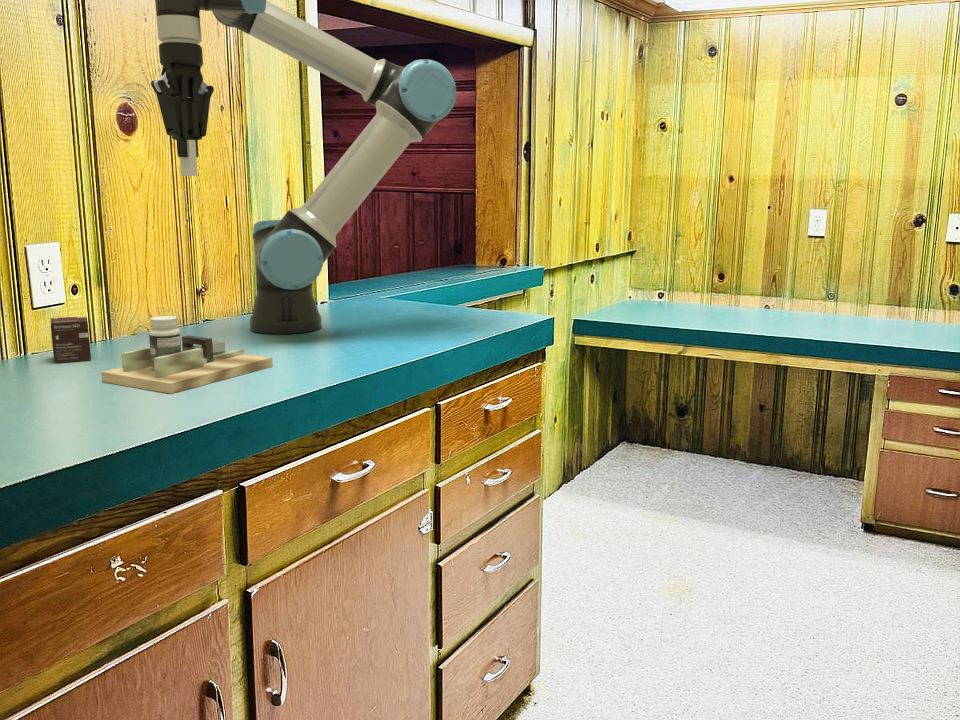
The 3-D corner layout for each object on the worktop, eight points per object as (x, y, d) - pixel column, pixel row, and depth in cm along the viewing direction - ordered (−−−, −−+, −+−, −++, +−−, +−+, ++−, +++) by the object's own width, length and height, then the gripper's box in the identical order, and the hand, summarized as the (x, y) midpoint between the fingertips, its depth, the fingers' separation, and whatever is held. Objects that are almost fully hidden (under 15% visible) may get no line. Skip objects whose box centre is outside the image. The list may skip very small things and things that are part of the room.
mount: (206, 357, 156) (204, 326, 155) (272, 366, 148) (271, 334, 147) (102, 381, 137) (98, 347, 136) (171, 393, 130) (168, 357, 128)
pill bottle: (151, 366, 141) (147, 316, 139) (182, 364, 143) (178, 314, 141) (151, 372, 137) (147, 320, 135) (182, 370, 138) (179, 319, 136)
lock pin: (215, 354, 150) (214, 341, 150) (225, 355, 149) (224, 342, 149) (184, 361, 144) (183, 347, 144) (194, 363, 143) (193, 349, 143)
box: (53, 364, 151) (49, 323, 149) (54, 357, 156) (50, 318, 155) (91, 360, 153) (87, 320, 152) (90, 354, 159) (86, 315, 157)
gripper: (193, 49, 163) (202, 175, 168) (136, 40, 152) (147, 175, 157) (221, 46, 160) (229, 175, 165) (165, 36, 149) (175, 175, 154)
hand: (189, 175), depth 161 cm, fingers closed
